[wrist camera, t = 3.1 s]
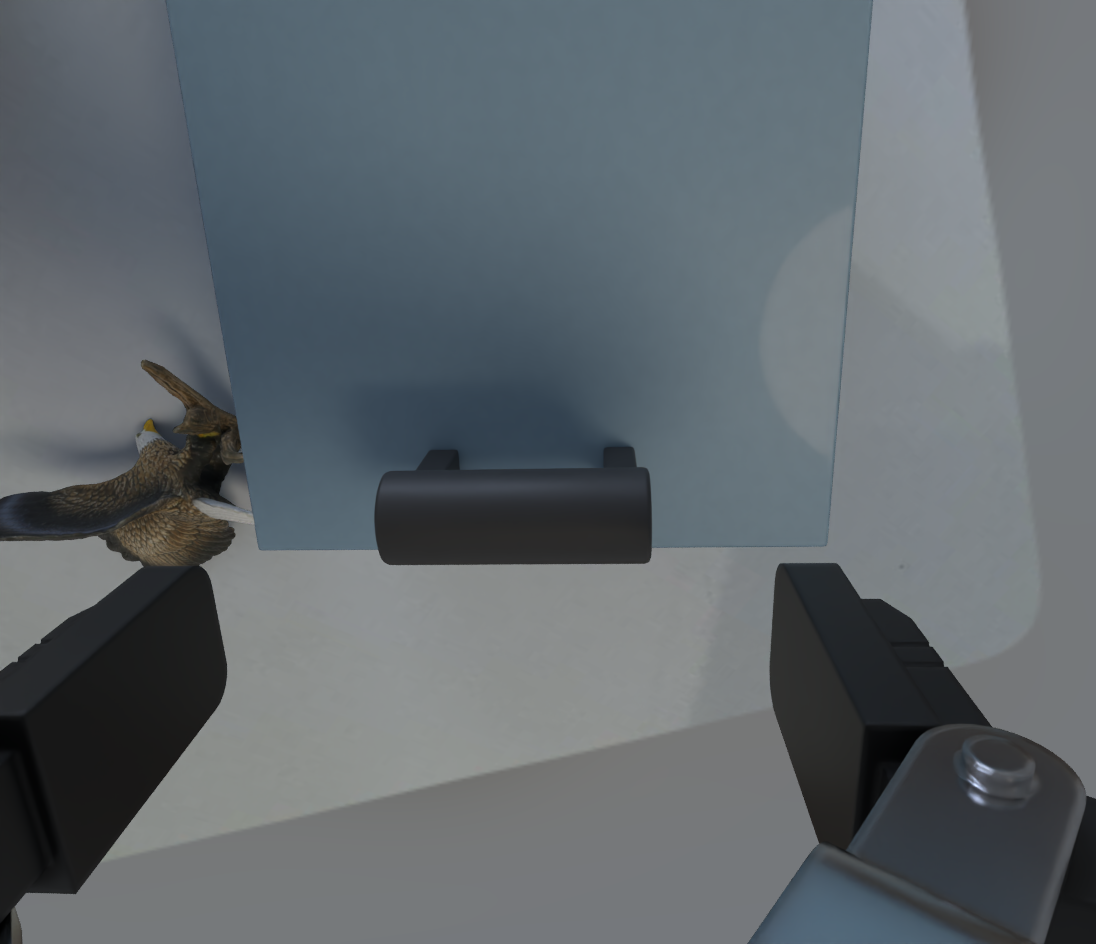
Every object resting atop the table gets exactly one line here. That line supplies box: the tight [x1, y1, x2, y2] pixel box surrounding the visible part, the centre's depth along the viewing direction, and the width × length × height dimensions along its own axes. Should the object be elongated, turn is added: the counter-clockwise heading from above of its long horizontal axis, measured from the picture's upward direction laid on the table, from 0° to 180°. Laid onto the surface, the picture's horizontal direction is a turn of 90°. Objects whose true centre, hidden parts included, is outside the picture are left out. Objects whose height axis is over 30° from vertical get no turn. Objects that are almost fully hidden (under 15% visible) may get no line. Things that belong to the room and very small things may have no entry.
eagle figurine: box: [0, 360, 255, 567], centre depth 28 cm, size 8×7×9 cm
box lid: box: [166, 0, 873, 565], centre depth 15 cm, size 16×14×5 cm
